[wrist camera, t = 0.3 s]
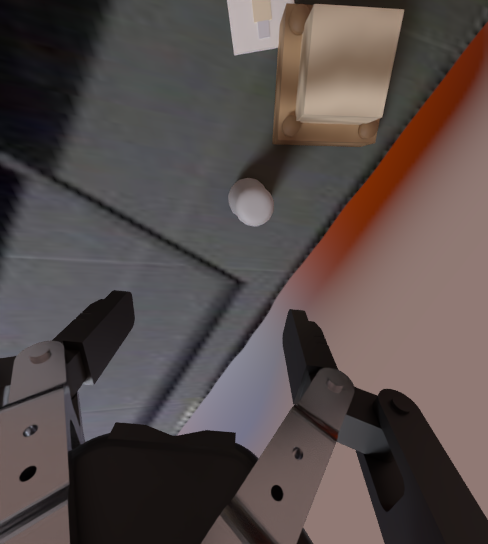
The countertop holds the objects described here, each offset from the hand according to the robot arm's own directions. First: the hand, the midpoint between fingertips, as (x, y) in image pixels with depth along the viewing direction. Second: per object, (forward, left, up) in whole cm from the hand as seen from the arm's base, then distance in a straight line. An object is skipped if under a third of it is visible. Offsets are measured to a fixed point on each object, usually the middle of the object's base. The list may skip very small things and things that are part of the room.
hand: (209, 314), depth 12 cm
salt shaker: (-4, +4, -28) cm, 28 cm away
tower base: (-18, +14, -28) cm, 36 cm away
